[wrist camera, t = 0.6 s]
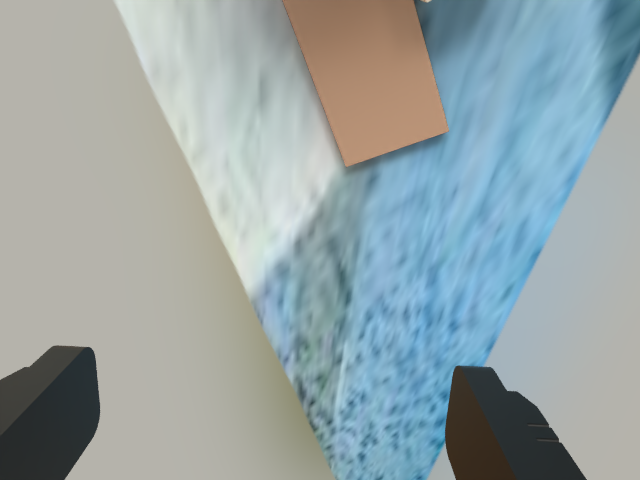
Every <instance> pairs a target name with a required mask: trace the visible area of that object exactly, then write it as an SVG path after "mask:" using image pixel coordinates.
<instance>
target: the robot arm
mask: <svg viewBox="0 0 640 480" xmlns="http://www.w3.org/2000/svg"><path fill="white" fill-rule="evenodd" d="M99 417H100V402H99V391H98V381H97V370H96V360H95V354H94V351H93V350H92V349H91V348H90V347H75V346H53V347H51V348H50V349H49V350H48V351H47V352H45V353H44V354H43V355H42V356H41V357H40V358H39V359H38V360H37V361H36V362H35V363H33V364H32V365H31V366H30V367H24V368H22V369H21V370H19V371H17V372H15V373H13V374H11V375H9V376H7V377H5V378H3V379H1V380H0V480H64V479H65V478H66V477H67V475H68V474H69V472H70V471H71V469H72V468H73V466H74V465H75V463H76V462H77V460H78V459H79V457H80V456H81V455H82V453H83V452H84V450H85V449H86V447H87V446H88V444H89V443H90V441H91V440H92V438H93V437H94V434H95V432H96V430H97V427H98V423H99ZM445 441H446V449H447V454H448V457H449V460H450V463H451V466H452V469H453V472H454V475H455V478H456V480H587V479H586V478H585V477H584V475H583V474H582V472H581V471H580V469H579V468H578V466H577V465H576V463H575V462H574V460H573V459H572V457H571V456H570V454H569V453H568V452H567V450H566V449H565V447H564V446H563V444H562V443H559V438H558V437H557V436H556V434H555V433H554V431H553V430H552V428H549V424H548V422H547V421H546V419H545V418H544V416H543V415H542V414H541V412H540V411H539V409H538V408H537V406H535V405H534V404H533V403H531V402H530V401H529V400H528V399H526V398H525V397H523V396H522V395H521V394H520V393H518V392H516V391H515V392H514V391H507V390H506V389H505V387H504V386H503V384H502V382H501V381H500V379H499V377H498V376H497V374H496V373H495V371H494V370H493V369H492V368H491V367H476V366H456V367H455V369H454V372H453V377H452V384H451V391H450V398H449V405H448V412H447V419H446V427H445Z"/></svg>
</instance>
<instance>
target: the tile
mask: <svg viewBox="0 0 640 480" xmlns="http://www.w3.org/2000/svg"><path fill="white" fill-rule="evenodd" d="M283 3H284V6H285V8H286V11H287V14H288V16H289V19H290V21H291V24H292V27H293V29H294V32H295V35H296V37H297V40H298V42H299V45H300V48H301V50H302V53H303V55H304V58H305V61H306V63H307V66H308V69H309V71H310V74H311V76H312V79H313V82H314V84H315V87H316V90H317V92H318V95H319V97H320V100H321V103H322V105H323V108H324V110H325V113H326V116H327V118H328V121H329V124H330V126H331V129H332V131H333V134H334V137H335V139H336V142H337V145H338V147H339V150H340V152H341V155H342V158H343V160H344V163H345V165H346V167H348V166H351V165H353V164H356V163H359V162H362V161H365V160H368V159H371V158H374V157H376V156H379V155H382V154H385V153H388V152H391V151H394V150H397V149H399V148H402V147H405V146H408V145H411V144H414V143H417V142H420V141H422V140H425V139H428V138H431V137H434V136H437V135H440V134H443V133H445V132H448V131H449V129H448V125H447V121H446V118H445V114H444V110H443V107H442V103H441V99H440V96H439V92H438V88H437V85H436V81H435V77H434V74H433V70H432V66H431V63H430V59H429V55H428V52H427V48H426V44H425V41H424V37H423V33H422V30H421V26H420V22H419V19H418V15H417V11H416V8H415V4H414V0H283Z"/></svg>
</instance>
